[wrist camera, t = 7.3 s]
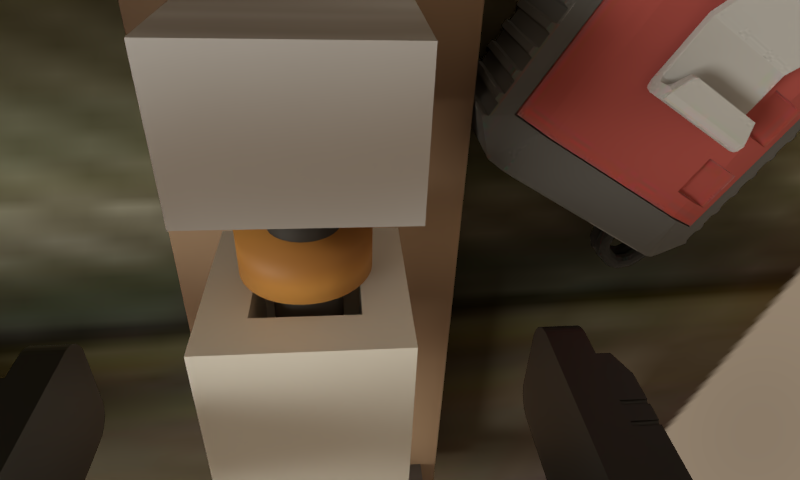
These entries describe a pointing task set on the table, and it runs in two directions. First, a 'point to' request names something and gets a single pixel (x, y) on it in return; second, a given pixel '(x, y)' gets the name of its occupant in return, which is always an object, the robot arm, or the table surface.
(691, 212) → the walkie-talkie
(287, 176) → the linear slider rail
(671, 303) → the table surface
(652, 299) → the table surface
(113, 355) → the table surface
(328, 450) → the sleeve
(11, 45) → the table surface
